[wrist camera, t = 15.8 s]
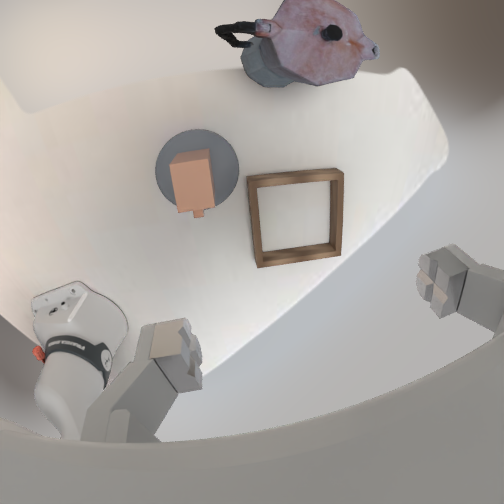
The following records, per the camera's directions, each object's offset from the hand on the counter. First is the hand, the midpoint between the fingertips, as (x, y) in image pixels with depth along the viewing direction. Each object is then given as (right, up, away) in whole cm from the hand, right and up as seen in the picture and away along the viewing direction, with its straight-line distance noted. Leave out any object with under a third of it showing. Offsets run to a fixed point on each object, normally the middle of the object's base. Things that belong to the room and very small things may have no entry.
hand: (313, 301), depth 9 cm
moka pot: (+1, +28, +25) cm, 38 cm away
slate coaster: (-10, +13, +32) cm, 36 cm away
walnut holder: (+5, +8, +37) cm, 38 cm away
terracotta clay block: (-10, +13, +31) cm, 35 cm away
